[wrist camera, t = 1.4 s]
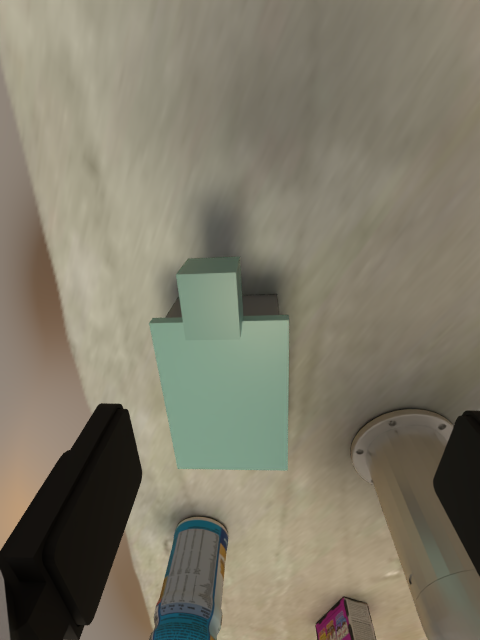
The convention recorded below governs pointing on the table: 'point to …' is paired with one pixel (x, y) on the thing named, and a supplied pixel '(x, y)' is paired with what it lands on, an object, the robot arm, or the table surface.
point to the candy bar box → (346, 622)
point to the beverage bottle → (193, 583)
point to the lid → (223, 373)
